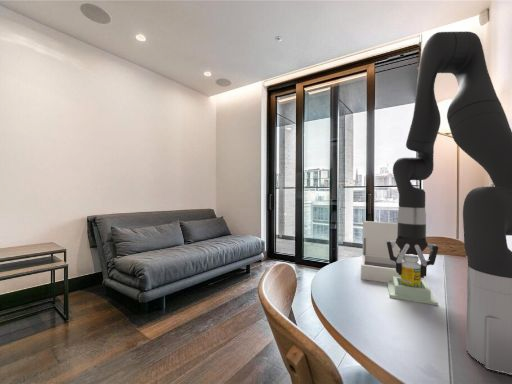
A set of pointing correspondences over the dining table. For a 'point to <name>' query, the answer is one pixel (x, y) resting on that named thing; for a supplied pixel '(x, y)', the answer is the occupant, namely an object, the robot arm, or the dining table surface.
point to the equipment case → (379, 251)
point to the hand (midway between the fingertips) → (410, 275)
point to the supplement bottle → (410, 271)
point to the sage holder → (411, 292)
